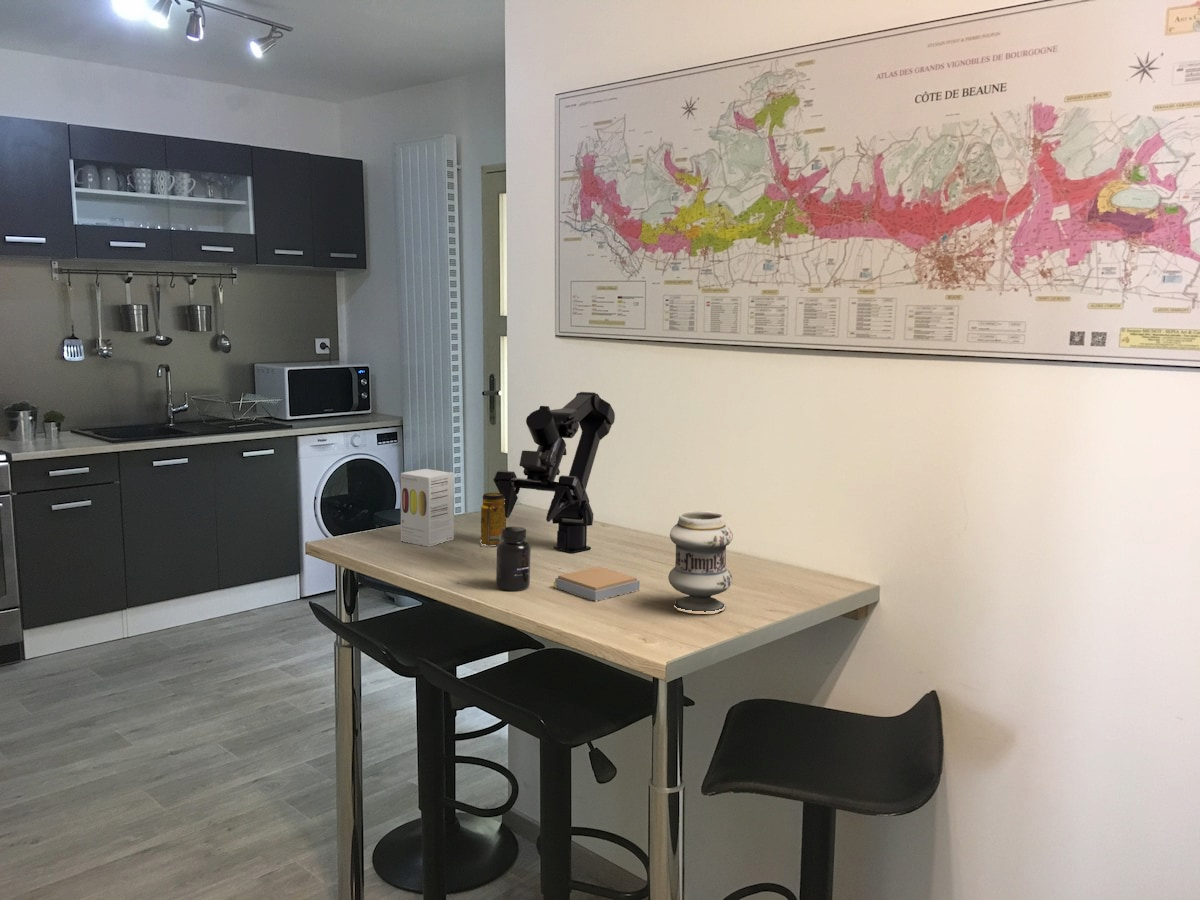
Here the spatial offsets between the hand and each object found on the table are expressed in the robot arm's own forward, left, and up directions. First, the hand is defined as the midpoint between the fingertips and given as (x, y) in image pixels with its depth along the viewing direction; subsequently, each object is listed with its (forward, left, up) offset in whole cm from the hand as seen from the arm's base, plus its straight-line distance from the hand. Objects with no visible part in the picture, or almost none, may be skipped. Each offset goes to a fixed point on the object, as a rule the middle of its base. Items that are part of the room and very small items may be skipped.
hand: (526, 518), depth 193 cm
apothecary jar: (-13, +36, -13) cm, 41 cm away
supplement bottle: (+6, +3, -13) cm, 15 cm away
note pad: (-6, +15, -13) cm, 21 cm away
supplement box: (-2, -41, -13) cm, 43 cm away
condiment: (-14, -29, -13) cm, 35 cm away
